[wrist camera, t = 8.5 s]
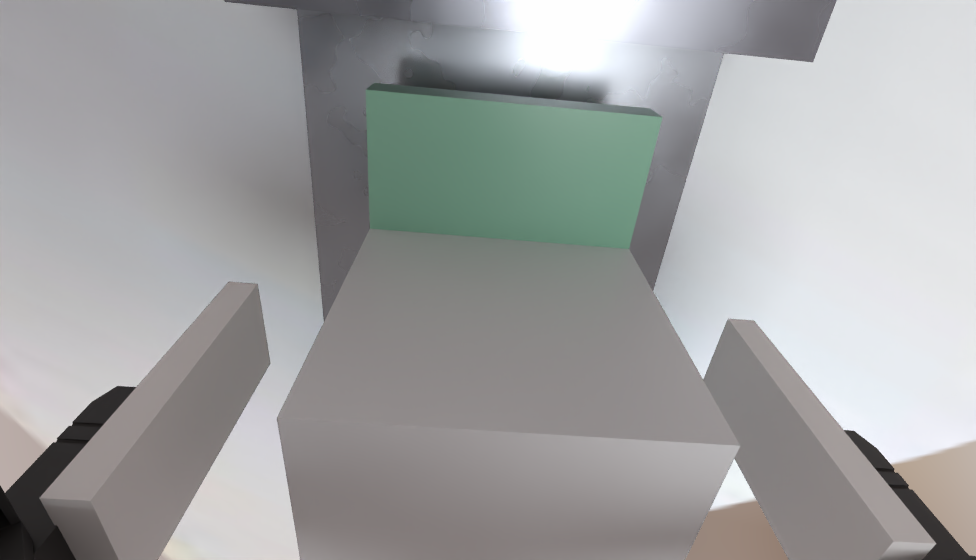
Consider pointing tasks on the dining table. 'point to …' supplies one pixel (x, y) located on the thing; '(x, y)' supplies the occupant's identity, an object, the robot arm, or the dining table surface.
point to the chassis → (526, 82)
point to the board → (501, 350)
